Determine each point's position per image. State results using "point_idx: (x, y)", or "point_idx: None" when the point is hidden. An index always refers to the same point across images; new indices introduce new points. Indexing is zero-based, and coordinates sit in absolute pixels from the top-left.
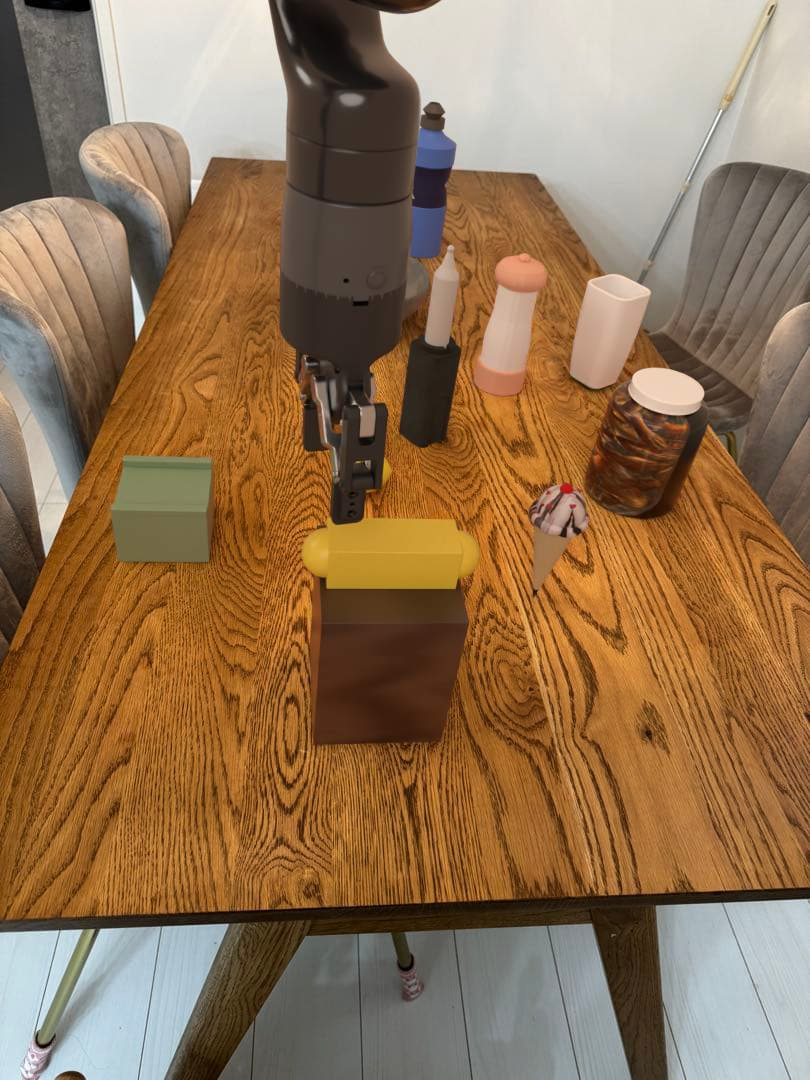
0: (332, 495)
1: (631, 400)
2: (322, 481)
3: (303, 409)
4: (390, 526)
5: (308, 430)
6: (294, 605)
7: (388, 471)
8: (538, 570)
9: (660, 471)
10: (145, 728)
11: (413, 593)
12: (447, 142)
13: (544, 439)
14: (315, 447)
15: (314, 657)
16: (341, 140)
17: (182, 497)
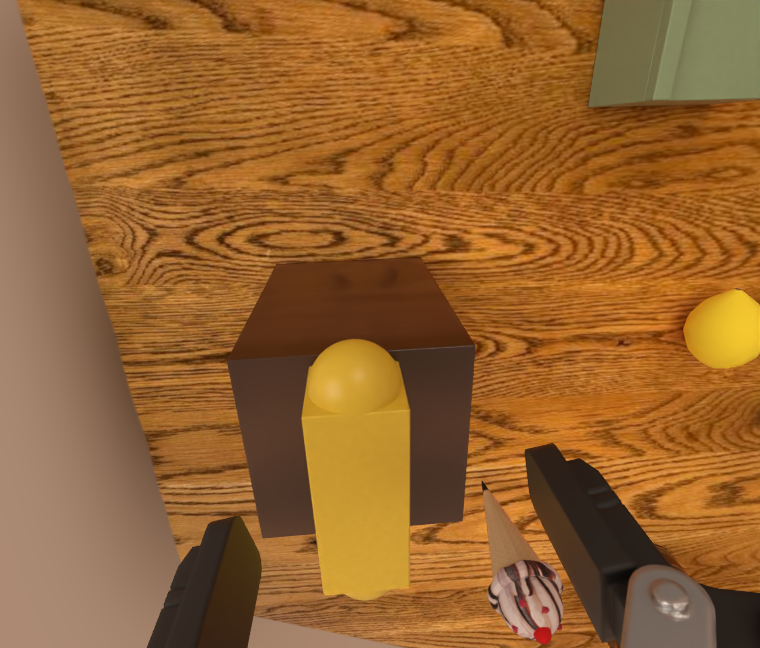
0: (193, 598)
1: None
2: (728, 266)
3: (623, 549)
4: (385, 508)
5: (557, 506)
6: (490, 235)
7: (709, 365)
8: (489, 514)
9: (616, 645)
10: (282, 47)
11: None
12: None
13: (734, 517)
14: (531, 475)
15: (333, 287)
16: None
17: (709, 46)
